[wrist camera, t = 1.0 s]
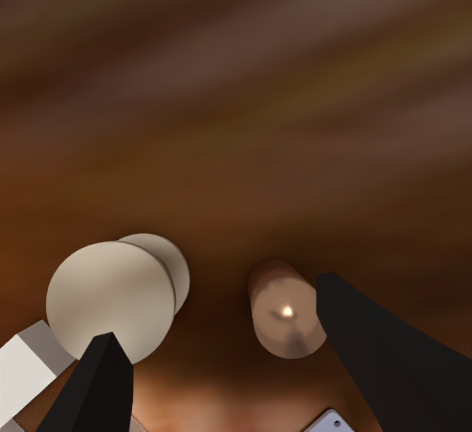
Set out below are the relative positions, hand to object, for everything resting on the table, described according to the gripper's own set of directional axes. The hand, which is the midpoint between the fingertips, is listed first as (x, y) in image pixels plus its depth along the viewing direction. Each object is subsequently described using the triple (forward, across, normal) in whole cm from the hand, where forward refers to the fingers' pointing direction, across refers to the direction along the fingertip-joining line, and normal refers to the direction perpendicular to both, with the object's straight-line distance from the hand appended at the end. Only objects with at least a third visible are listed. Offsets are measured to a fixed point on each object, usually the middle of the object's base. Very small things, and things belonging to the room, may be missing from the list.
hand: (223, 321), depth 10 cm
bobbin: (+11, +5, +6) cm, 13 cm away
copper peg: (+8, -4, +8) cm, 12 cm away
